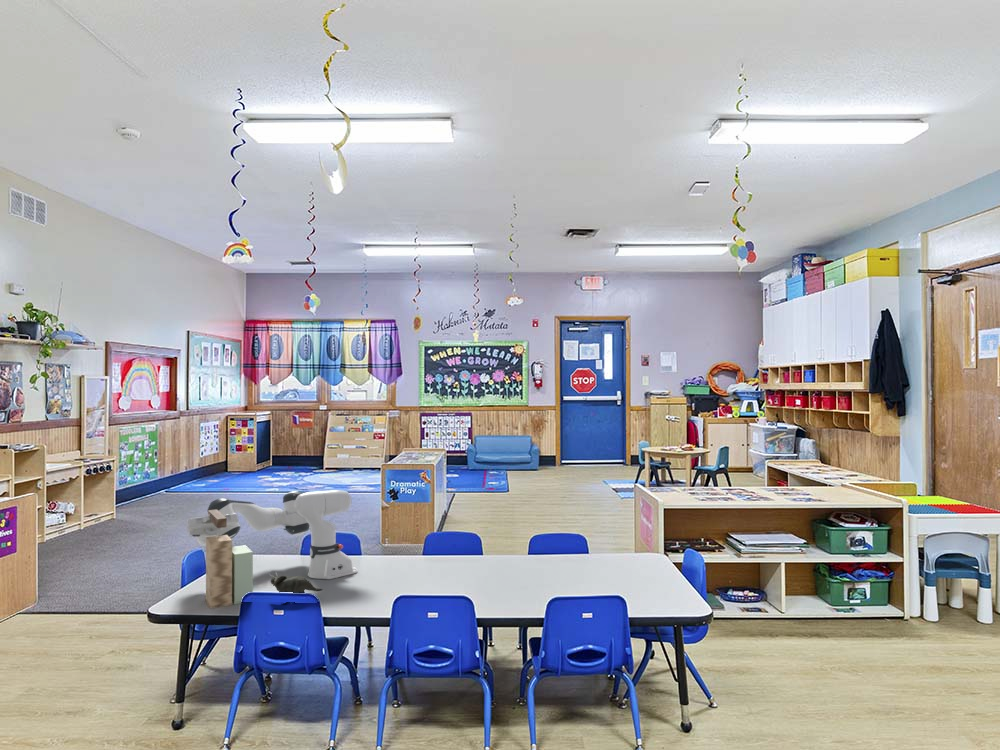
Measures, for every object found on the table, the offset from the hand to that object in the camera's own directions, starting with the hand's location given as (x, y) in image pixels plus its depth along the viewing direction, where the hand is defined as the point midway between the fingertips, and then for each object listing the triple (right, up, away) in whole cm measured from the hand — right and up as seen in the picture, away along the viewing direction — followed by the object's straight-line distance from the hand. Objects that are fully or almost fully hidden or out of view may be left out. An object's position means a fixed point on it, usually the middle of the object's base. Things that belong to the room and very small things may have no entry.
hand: (215, 515), depth 271 cm
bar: (+2, -2, -4) cm, 5 cm away
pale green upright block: (+11, -34, -2) cm, 36 cm away
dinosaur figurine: (+35, -34, -7) cm, 49 cm away
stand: (+5, -34, -8) cm, 35 cm away
